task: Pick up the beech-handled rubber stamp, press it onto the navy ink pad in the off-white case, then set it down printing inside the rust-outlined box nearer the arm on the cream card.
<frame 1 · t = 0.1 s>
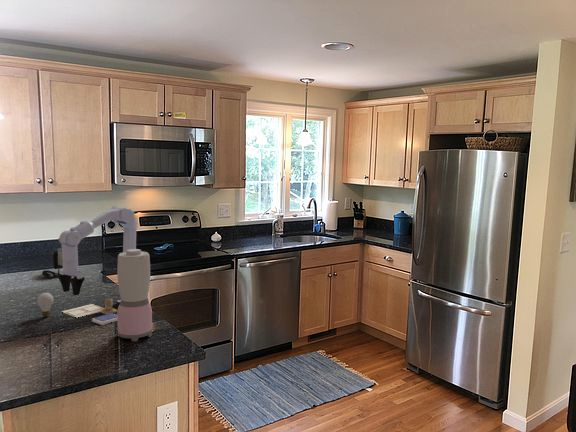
hand: (71, 293, 191), 10 cm above the worktop, tool pointing down, fingers open, 7 cm apart
card sheet: (84, 311, 200), on the worktop
ink pad: (107, 320, 189), on the worktop
blender: (132, 335, 174), on the worktop
milk frother: (59, 276, 260), on the worktop
light bulb: (46, 317, 192), on the worktop
stamp: (109, 313, 198), on the worktop
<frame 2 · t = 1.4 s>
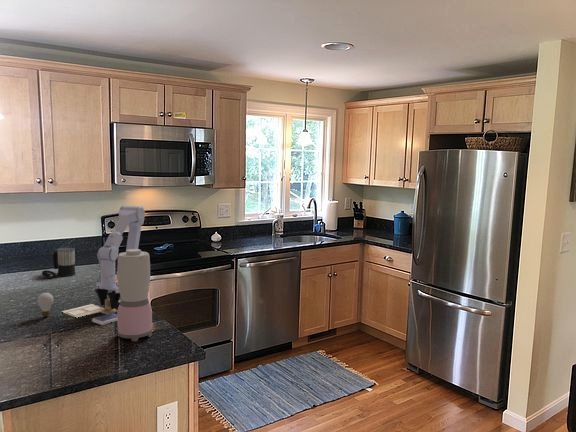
hand: (108, 306, 198), 3 cm above the worktop, tool pointing down, fingers open, 7 cm apart
nothing on the worktop moved.
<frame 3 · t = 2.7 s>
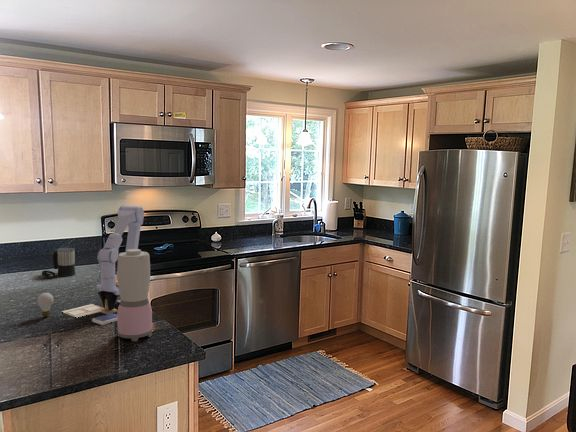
hand: (108, 308, 198), 2 cm above the worktop, tool pointing down, fingers closed on stamp, 3 cm apart
stamp: (109, 312, 198), on the worktop, touching gripper
everything else where it was.
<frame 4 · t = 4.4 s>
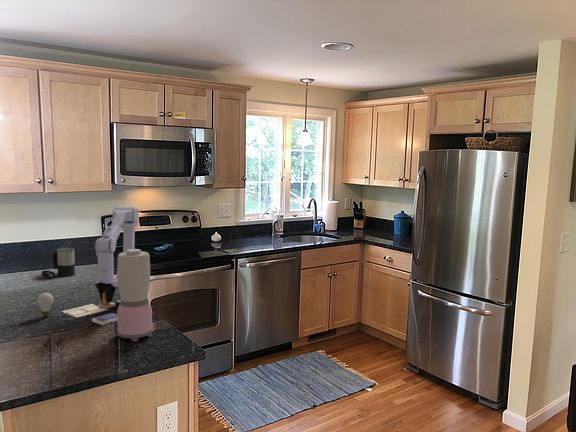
hand: (106, 301, 188), 8 cm above the worktop, tool pointing down, fingers closed on stamp, 3 cm apart
stamp: (106, 307, 188), point 6 cm above the worktop, touching gripper
everything else where it was.
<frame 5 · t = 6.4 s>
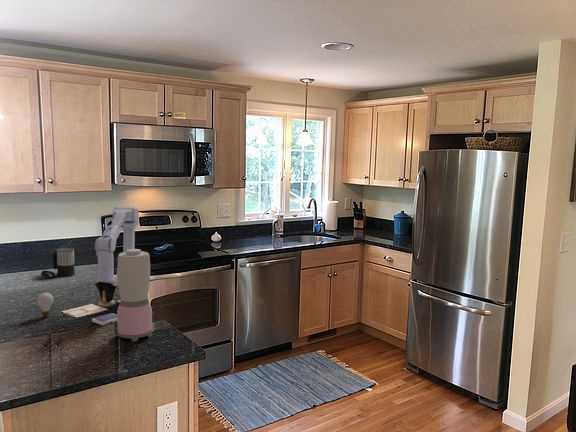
hand: (106, 300, 188), 8 cm above the worktop, tool pointing down, fingers closed on stamp, 3 cm apart
stamp: (106, 305, 188), point 6 cm above the worktop, touching gripper
everything else where it was.
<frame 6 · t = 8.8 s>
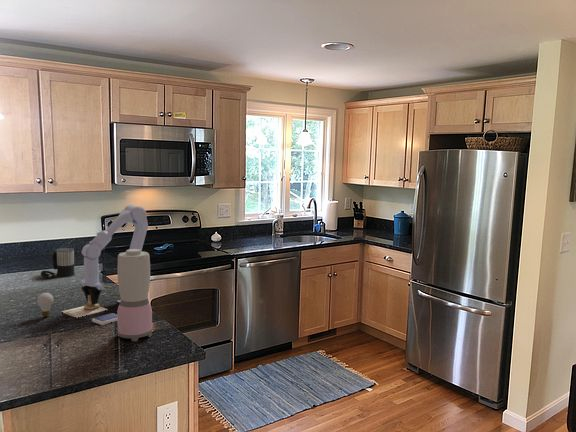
hand: (92, 303, 203), 3 cm above the worktop, tool pointing down, fingers closed on stamp, 3 cm apart
stamp: (91, 308, 203), resting on card sheet, touching gripper
when the fingers open (2 cm above the worktop, at t = 10.2 s): stamp stays where it is, resting on card sheet.
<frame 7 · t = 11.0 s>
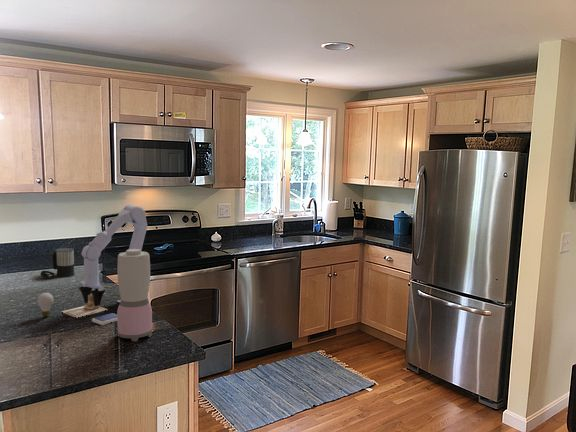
hand: (92, 304, 203), 2 cm above the worktop, tool pointing down, fingers open, 7 cm apart
stamp: (91, 308, 203), resting on card sheet
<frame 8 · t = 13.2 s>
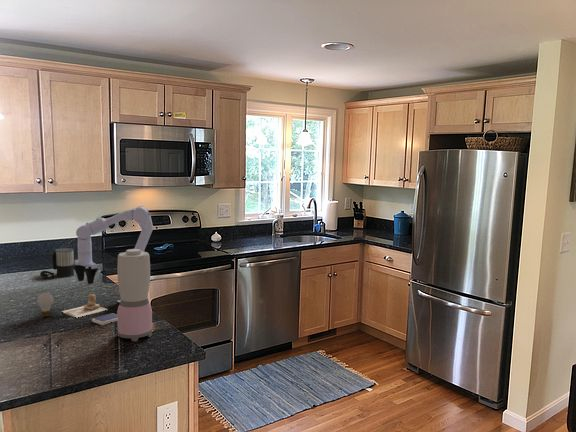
hand: (85, 282, 209), 10 cm above the worktop, tool pointing down, fingers open, 7 cm apart
at the end: stamp 0.3 cm from the target spot on the card sheet, point 0.4 cm above the card sheet's base; stamp tilted 1°; the gripper is holding nothing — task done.
